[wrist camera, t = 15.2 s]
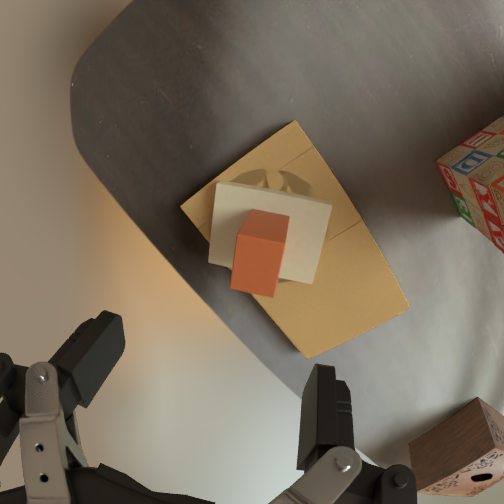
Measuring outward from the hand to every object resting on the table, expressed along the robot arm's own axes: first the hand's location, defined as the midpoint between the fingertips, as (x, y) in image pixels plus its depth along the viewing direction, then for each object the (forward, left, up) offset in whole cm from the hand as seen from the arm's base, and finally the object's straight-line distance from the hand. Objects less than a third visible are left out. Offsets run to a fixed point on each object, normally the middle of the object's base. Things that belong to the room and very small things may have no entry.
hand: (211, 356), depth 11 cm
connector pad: (+1, 0, -17) cm, 17 cm away
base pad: (+4, -2, -17) cm, 17 cm away
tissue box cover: (+45, -31, -17) cm, 58 cm away
